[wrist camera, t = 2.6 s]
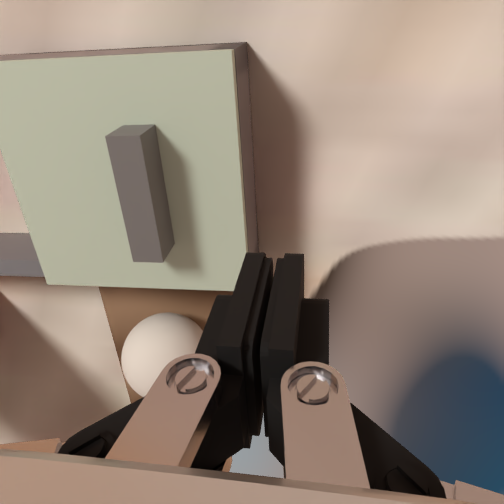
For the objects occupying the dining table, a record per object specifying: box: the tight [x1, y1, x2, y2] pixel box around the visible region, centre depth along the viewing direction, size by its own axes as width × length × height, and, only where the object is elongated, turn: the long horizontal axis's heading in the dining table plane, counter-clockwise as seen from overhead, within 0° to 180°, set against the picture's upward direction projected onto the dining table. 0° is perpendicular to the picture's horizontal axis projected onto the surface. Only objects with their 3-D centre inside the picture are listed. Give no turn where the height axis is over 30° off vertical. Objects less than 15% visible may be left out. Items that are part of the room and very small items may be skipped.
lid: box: [0, 49, 248, 291], centre depth 22 cm, size 12×12×3 cm
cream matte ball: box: [121, 312, 203, 397], centre depth 28 cm, size 6×6×6 cm
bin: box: [0, 42, 259, 277], centre depth 25 cm, size 12×25×4 cm, turn 93°
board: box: [99, 286, 233, 403], centre depth 33 cm, size 14×10×2 cm
